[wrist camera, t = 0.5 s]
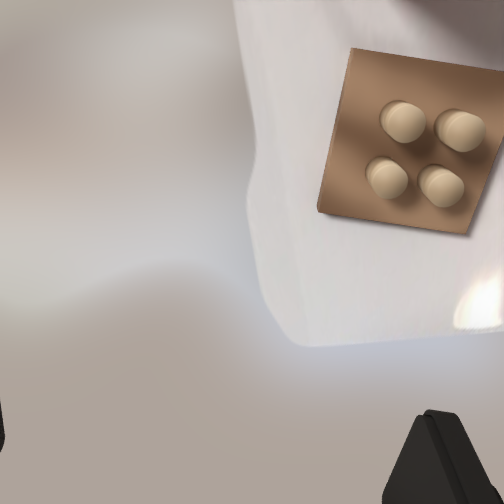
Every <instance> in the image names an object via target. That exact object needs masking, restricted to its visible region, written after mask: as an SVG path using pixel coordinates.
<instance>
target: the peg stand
mask: <svg viewBox="0 0 504 504" xmlns="http://www.w3.org/2000/svg"><path fill="white" fill-rule="evenodd" d="M503 137H504V72H502V71H496V70H490V69H483V68H477V67H471V66H464V65H458V64H452V63H445V62H439V61H433V60H426V59H420V58H414V57H407V56H401V55H395V54H388V53H382V52H376V51H369V50H363V49H357V48H351V51H350V56H349V60H348V65H347V69H346V74H345V79H344V83H343V88H342V92H341V97H340V101H339V106H338V111H337V115H336V120H335V124H334V129H333V133H332V138H331V143H330V147H329V152H328V156H327V161H326V165H325V170H324V175H323V179H322V184H321V188H320V193H319V197H318V202H317V209H318V212H320V213H327V214H333V215H340V216H347V217H353V218H360V219H367V220H373V221H380V222H387V223H393V224H400V225H407V226H413V227H420V228H427V229H433V230H440V231H447V232H453V233H460V234H466V232H467V229H468V226H469V224H470V221H471V219H472V216H473V214H474V211H475V208H476V206H477V203H478V201H479V198H480V196H481V193H482V190H483V188H484V185H485V183H486V180H487V178H488V175H489V172H490V170H491V167H492V165H493V162H494V160H495V157H496V155H497V152H498V149H499V147H500V144H501V142H502V139H503Z"/></svg>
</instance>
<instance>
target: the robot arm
mask: <svg viewBox="0 0 504 504" xmlns="http://www.w3.org/2000/svg"><path fill="white" fill-rule="evenodd" d="M4 440H5V434H4V426H3V418H2V411H1V404H0V452H1V450H2V447H3V444H4ZM382 504H504V503H503V500H502V498H501V496H500V495H499V493H498V491H497V490H496V488H495V487H494V486H492V485H491V483H490V481H489V478H488V476H487V474H486V472H485V470H484V468H483V466H482V464H481V462H480V460H479V458H478V456H477V454H476V452H475V450H474V448H473V446H472V444H471V441H470V439H469V437H468V435H467V433H466V431H465V429H464V427H463V425H462V423H461V421H460V419H459V417H458V416H457V415H456V414H454V413H449V412H442V411H436V410H426V411H425V413H424V414H423V415H418V416H417V417H416V419H415V421H414V423H413V425H412V427H411V430H410V432H409V434H408V437H407V439H406V441H405V443H404V446H403V448H402V450H401V452H400V455H399V457H398V459H397V462H396V464H395V466H394V469H393V471H392V473H391V475H390V477H389V480H388V482H387V484H386V487H385V489H384V491H383V495H382Z"/></svg>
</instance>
